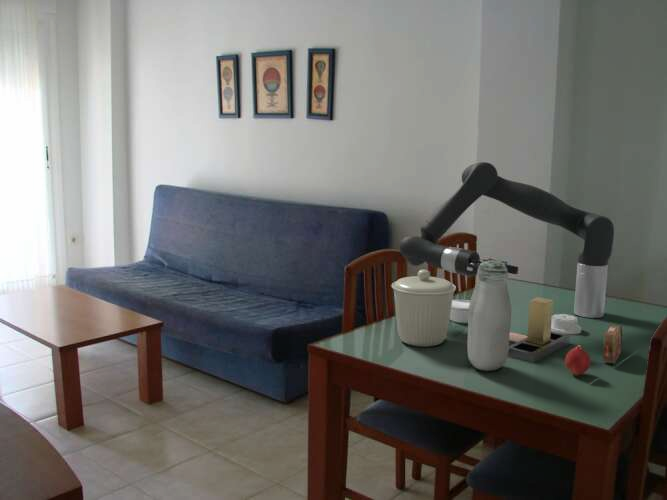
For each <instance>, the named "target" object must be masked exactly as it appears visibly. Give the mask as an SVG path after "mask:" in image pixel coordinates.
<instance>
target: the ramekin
mask: <svg viewBox="0 0 667 500" xmlns="http://www.w3.org/2000/svg"><path fill="white" fill-rule="evenodd" d="M469 304H470V300H468V299H452V305H451V312H450V318H449V321H451V322H454V323H458V324H468V314H469Z"/></svg>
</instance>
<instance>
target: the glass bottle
mask: <svg viewBox="0 0 667 500" xmlns="http://www.w3.org/2000/svg"><path fill="white" fill-rule="evenodd" d="M501 261H502V260H499V261H493V260H492V261H485V262H483V263H481V264H480V265H479V267H478V271H477V275H476V277H477V278H476V281H475V286H474V289H473V292H472V295H471V297H470V300H469V301H470V304H469V314H468V323H467V357H468V360H469V362H470V363H471V365H472V366H473V367H474V368H475V369H478V370H480V371H484V372H489V371H490V372H491V371H496V370H498V369H500V368H502V367H503V366H504V364H505V363H506V361H507V359H508V357H509V356H508V350H509V346H510V340H509V335H510V333H511V326H512V325H511V322H512V305H511V299H510V294H509V290H508V287H509V286H508V280H509V279H508V277H509V273H508V270H507V267H506V266H505V264H504V263H502V262H501Z"/></svg>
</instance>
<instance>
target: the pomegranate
mask: <svg viewBox="0 0 667 500" xmlns="http://www.w3.org/2000/svg"><path fill="white" fill-rule="evenodd" d="M564 363H565V367H566V369H568V370H569V372H570V373H572V374H573V375H574V376H576V377H579V376H581V375H583V374H584V373H585V372H587V371H588V370H589V369H590V367H591V358H590V356H589V354H588V353H587V351H586V350H584V348H582V345H580V344H578V345H576V347H575V348H572V349H570V350H569V351H568V352H567V353H566V356H565V359H564Z"/></svg>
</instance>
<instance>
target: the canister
mask: <svg viewBox="0 0 667 500" xmlns="http://www.w3.org/2000/svg"><path fill="white" fill-rule="evenodd" d="M391 288H392V290H393V293H394V294H393V295H394V296H393V297H394V307H395V317H396V326H397V334H398V337H399V339H400V340H401V341H402V342H404V343H405V344H406V345H409V346H410V345H411V346H412V347H413V346H414V347H423V348H424V347H427V348H428V347H435V346H436V347H437V345H441V344H442V343H444V341H445V339H446V337H447V333H448V329H449V324H450V319H449V318H450V312H451V305H452V300H454V299H453V297H454V292H455V291H456V290H457V287H456V285H455V284H454V283H452V282H450V281H449V280H447V279H445V278H441V277H436V276H431V272H430V271H429V270H428V269H420V270H419V271H417V275H413V276H405V277H401V278H399V279H397V281H394V282H392V284H391Z"/></svg>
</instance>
